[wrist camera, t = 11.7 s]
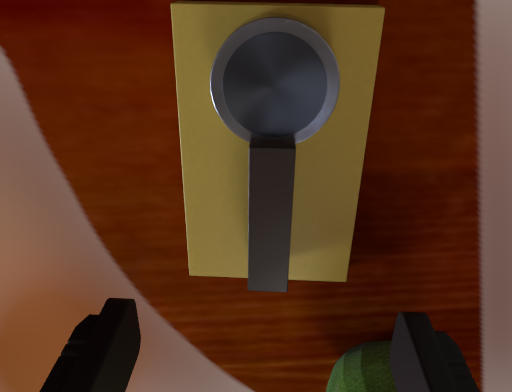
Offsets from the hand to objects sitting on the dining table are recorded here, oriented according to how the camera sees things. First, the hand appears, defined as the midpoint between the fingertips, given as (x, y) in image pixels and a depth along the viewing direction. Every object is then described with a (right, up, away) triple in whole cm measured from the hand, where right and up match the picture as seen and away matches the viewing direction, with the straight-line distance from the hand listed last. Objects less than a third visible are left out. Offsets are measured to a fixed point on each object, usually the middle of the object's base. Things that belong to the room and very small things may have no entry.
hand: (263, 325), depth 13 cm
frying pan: (+1, +6, +10) cm, 12 cm away
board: (+1, +6, +12) cm, 14 cm away
